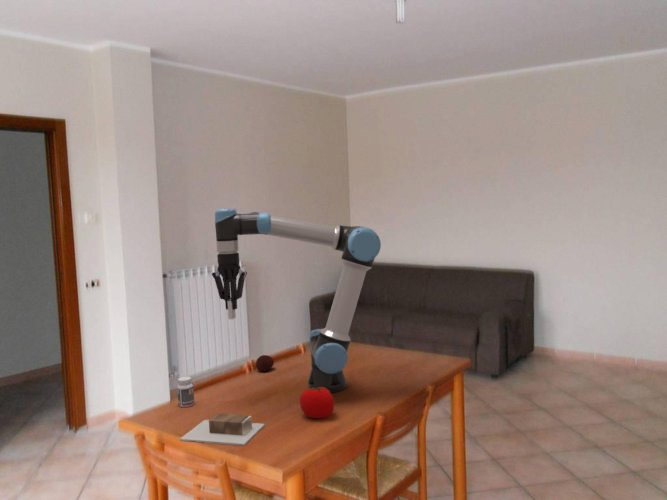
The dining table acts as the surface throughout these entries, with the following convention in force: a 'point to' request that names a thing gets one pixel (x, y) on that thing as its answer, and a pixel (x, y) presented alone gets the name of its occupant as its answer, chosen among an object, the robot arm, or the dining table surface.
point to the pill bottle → (185, 392)
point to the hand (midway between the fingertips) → (232, 318)
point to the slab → (230, 424)
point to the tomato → (317, 402)
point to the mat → (220, 435)
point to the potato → (264, 363)
